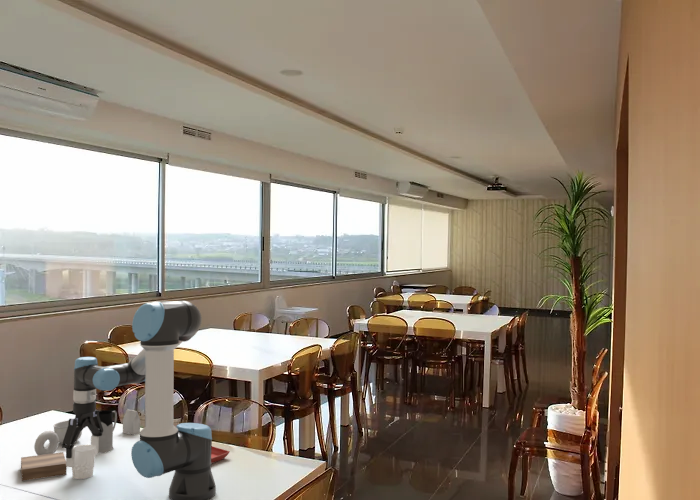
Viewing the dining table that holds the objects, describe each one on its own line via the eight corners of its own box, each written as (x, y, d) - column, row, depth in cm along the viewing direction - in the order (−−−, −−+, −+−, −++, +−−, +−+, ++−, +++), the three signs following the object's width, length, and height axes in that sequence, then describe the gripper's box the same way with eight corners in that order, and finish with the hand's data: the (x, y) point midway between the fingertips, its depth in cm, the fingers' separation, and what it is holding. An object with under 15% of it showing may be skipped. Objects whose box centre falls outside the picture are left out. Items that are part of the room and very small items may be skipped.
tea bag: (133, 435, 268) (133, 412, 268) (122, 432, 271) (123, 410, 271) (139, 433, 271) (140, 410, 271) (129, 430, 274) (129, 408, 274)
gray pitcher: (85, 452, 243) (86, 414, 244) (106, 441, 257) (106, 406, 258) (105, 453, 242) (106, 416, 242) (125, 443, 256) (125, 407, 256)
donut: (54, 452, 242) (55, 427, 242) (60, 453, 241) (61, 428, 241) (31, 459, 233) (32, 433, 233) (38, 461, 232) (38, 435, 232)
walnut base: (66, 474, 219) (66, 463, 219) (22, 481, 212) (22, 469, 212) (62, 462, 231) (63, 452, 231) (20, 468, 224) (21, 457, 224)
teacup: (70, 446, 250) (71, 427, 250) (47, 444, 252) (47, 425, 252) (91, 437, 263) (91, 418, 263) (69, 435, 265) (69, 416, 266)
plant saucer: (230, 459, 240) (230, 450, 240) (195, 472, 225) (196, 463, 225) (198, 450, 250) (198, 442, 250) (163, 462, 235) (163, 453, 235)
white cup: (70, 473, 220) (71, 445, 220) (94, 470, 223) (94, 443, 223) (70, 481, 212) (71, 452, 213) (95, 478, 216) (95, 449, 216)
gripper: (71, 410, 205) (68, 473, 205) (114, 393, 229) (112, 450, 229) (51, 408, 207) (49, 471, 206) (96, 392, 231) (94, 448, 231)
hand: (82, 460), depth 218 cm, fingers open, 13 cm apart
